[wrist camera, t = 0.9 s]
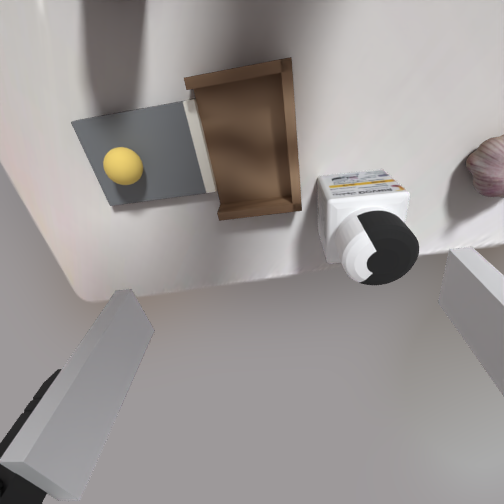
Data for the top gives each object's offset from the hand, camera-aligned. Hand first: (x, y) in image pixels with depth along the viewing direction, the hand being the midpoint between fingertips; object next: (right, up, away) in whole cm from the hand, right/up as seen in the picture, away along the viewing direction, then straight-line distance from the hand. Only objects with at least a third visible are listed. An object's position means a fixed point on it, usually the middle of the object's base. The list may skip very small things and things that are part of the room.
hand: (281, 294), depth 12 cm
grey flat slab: (-13, +13, +21) cm, 28 cm away
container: (+11, +8, +23) cm, 27 cm away
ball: (-15, +11, +19) cm, 27 cm away
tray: (-1, +14, +20) cm, 24 cm away
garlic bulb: (+26, +12, +20) cm, 35 cm away
